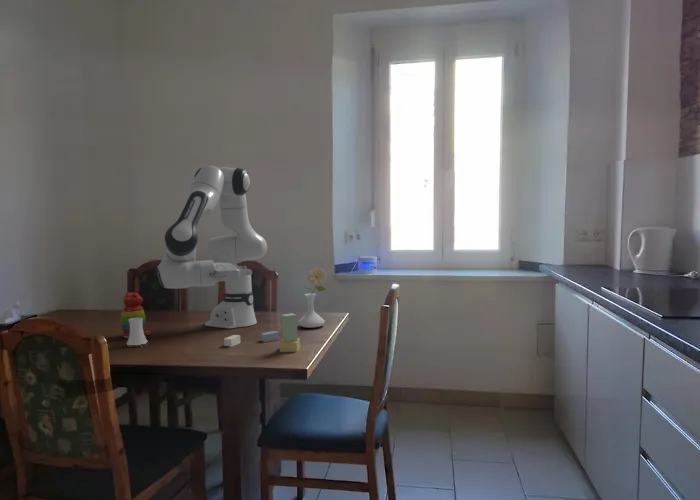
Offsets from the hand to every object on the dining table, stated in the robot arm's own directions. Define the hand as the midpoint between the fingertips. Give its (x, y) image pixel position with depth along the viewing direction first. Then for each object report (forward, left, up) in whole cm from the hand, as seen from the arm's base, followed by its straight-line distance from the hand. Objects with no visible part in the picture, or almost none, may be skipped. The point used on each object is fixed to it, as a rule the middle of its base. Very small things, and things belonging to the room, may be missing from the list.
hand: (249, 270), depth 172 cm
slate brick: (0, +13, -29) cm, 32 cm away
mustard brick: (+13, +3, -29) cm, 32 cm away
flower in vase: (+7, +38, -29) cm, 48 cm away
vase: (-47, -4, -29) cm, 55 cm away
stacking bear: (-59, +8, -29) cm, 66 cm away
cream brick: (-11, +4, -29) cm, 31 cm away
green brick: (+13, +4, -25) cm, 28 cm away
